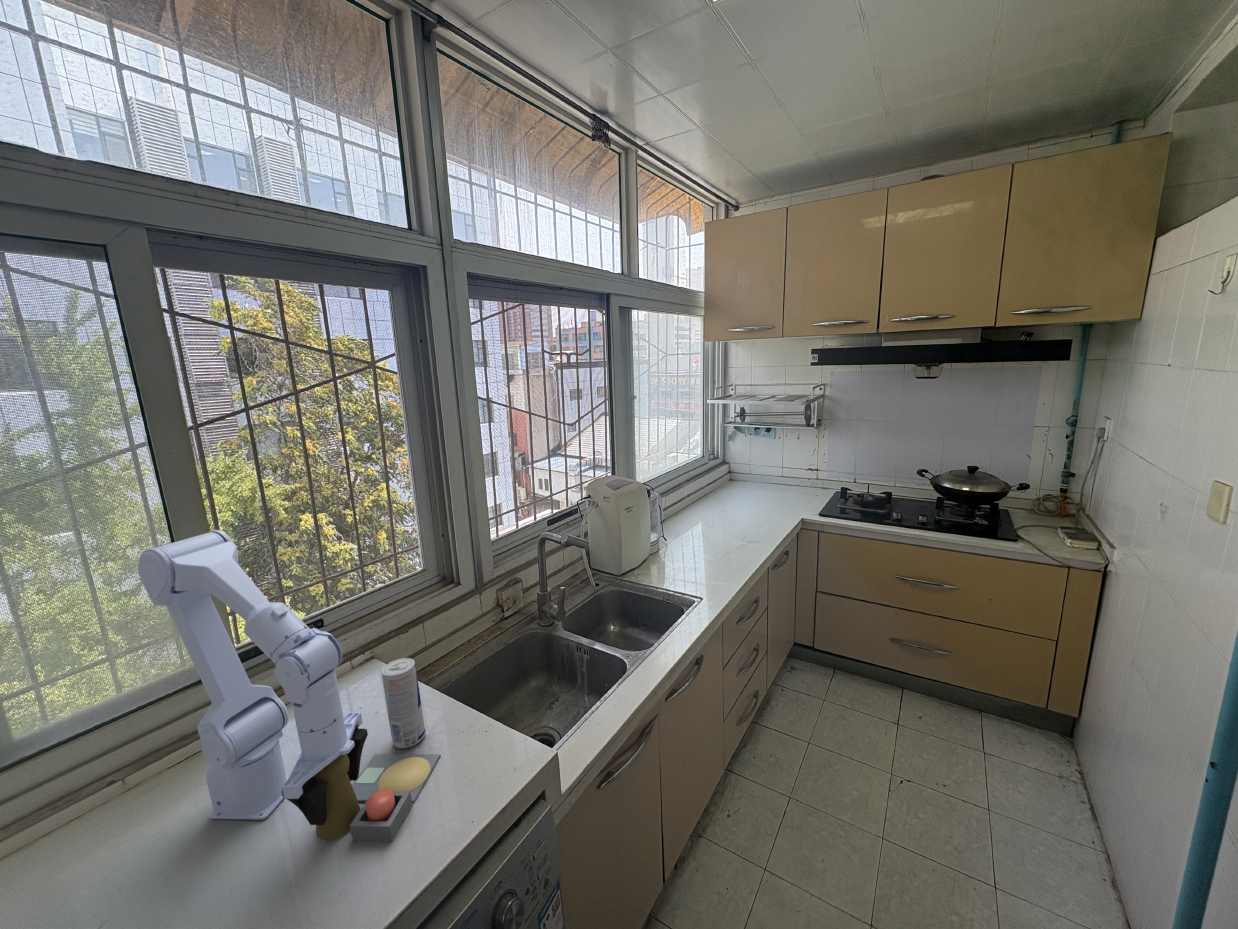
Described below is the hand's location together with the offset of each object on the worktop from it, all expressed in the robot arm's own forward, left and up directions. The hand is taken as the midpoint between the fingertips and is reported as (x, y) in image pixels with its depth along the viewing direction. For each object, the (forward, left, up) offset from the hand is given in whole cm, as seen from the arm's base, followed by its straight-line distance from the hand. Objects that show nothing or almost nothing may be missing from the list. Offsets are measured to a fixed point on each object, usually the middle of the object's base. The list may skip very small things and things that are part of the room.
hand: (335, 799), depth 73 cm
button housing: (+7, 0, -4) cm, 8 cm away
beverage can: (+2, +17, -4) cm, 18 cm away
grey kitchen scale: (+4, +8, -4) cm, 10 cm away
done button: (+7, 0, -2) cm, 7 cm away
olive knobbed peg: (0, 0, -4) cm, 4 cm away
